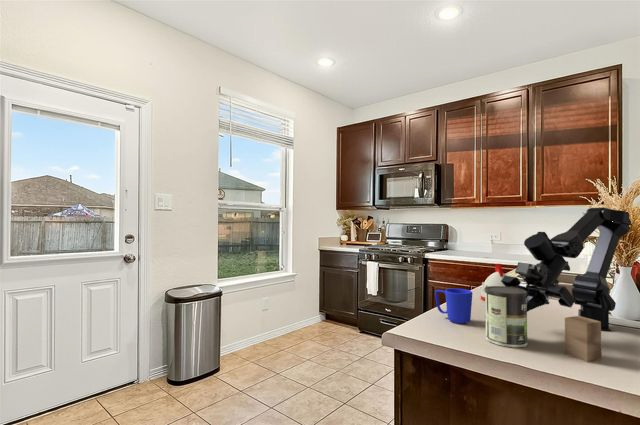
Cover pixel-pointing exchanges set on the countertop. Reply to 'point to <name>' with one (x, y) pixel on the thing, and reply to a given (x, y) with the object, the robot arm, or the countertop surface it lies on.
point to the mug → (457, 304)
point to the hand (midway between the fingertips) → (519, 312)
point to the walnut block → (583, 338)
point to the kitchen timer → (493, 280)
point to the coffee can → (506, 316)
